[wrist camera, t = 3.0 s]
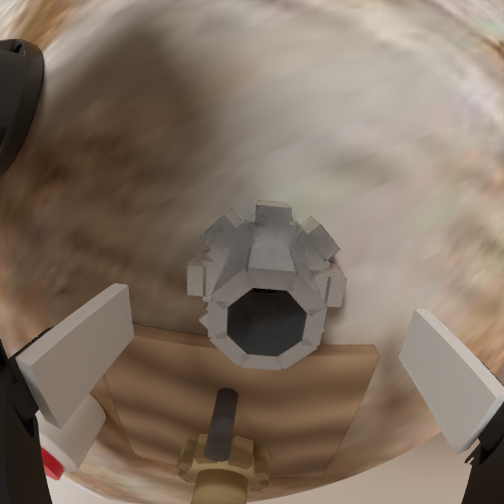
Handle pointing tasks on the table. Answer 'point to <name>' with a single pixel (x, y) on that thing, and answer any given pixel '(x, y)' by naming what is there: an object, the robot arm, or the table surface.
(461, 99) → the table surface
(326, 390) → the gear board
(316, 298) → the steel gear
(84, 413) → the pill bottle
